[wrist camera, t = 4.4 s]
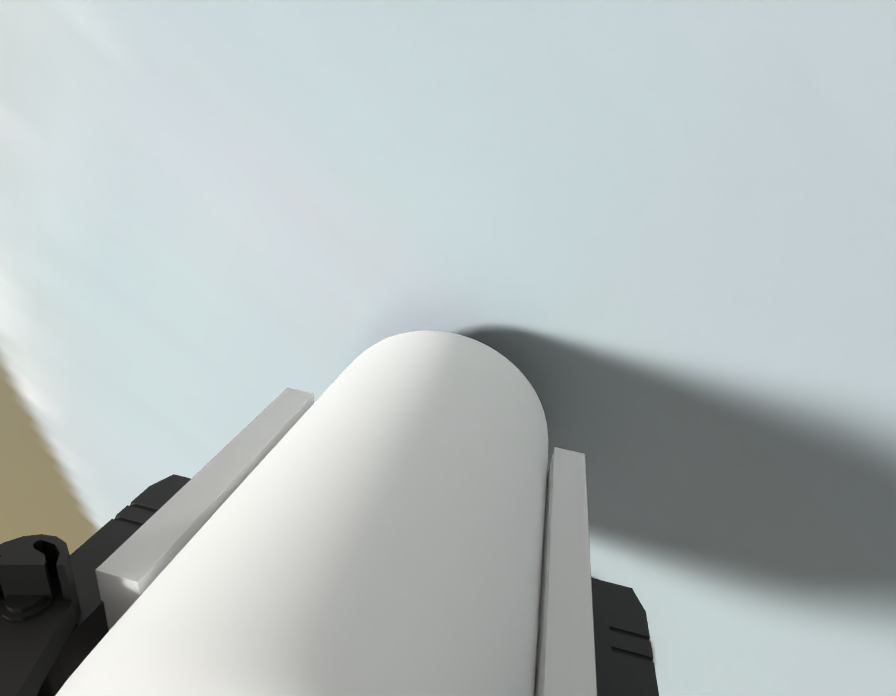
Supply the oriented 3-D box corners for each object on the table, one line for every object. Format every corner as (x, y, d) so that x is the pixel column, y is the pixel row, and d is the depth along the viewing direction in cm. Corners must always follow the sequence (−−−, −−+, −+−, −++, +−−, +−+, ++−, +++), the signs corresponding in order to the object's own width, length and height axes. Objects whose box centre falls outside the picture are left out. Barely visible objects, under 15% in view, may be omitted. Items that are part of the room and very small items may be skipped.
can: (312, 338, 16) (-227, 794, 5) (531, 309, 14) (416, 894, 3) (368, 516, 18) (72, 1100, 7) (563, 509, 16) (554, 1252, 6)
